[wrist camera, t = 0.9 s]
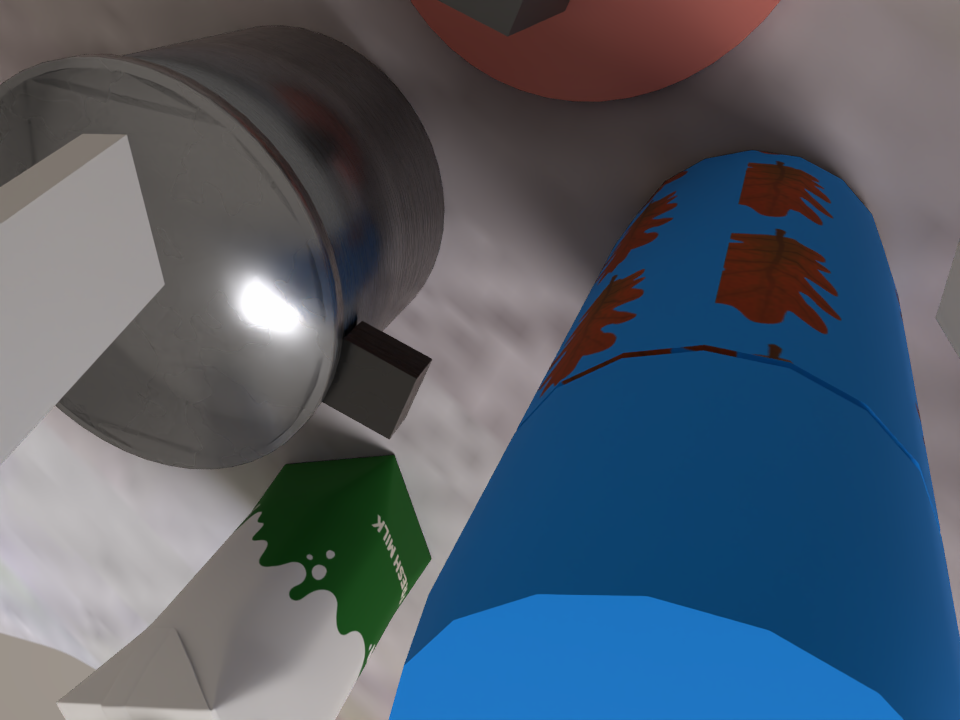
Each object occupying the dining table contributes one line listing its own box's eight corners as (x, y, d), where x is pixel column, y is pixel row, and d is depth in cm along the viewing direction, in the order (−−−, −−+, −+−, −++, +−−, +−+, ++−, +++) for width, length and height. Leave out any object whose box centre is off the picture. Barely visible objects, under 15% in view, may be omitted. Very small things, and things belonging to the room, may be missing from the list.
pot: (559, 150, 37) (473, 241, 26) (430, 418, 45) (326, 567, 35) (135, -74, 38) (-103, -68, 28) (85, 227, 46) (-113, 317, 36)
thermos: (569, 254, 38) (282, 705, 18) (771, 86, 33) (688, 472, 12) (728, 426, 40) (631, 1023, 19) (948, 296, 34) (1145, 957, 14)
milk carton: (451, 570, 49) (274, 918, 32) (316, 574, 53) (92, 889, 36) (404, 437, 46) (181, 745, 29) (264, 450, 49) (-9, 732, 32)
